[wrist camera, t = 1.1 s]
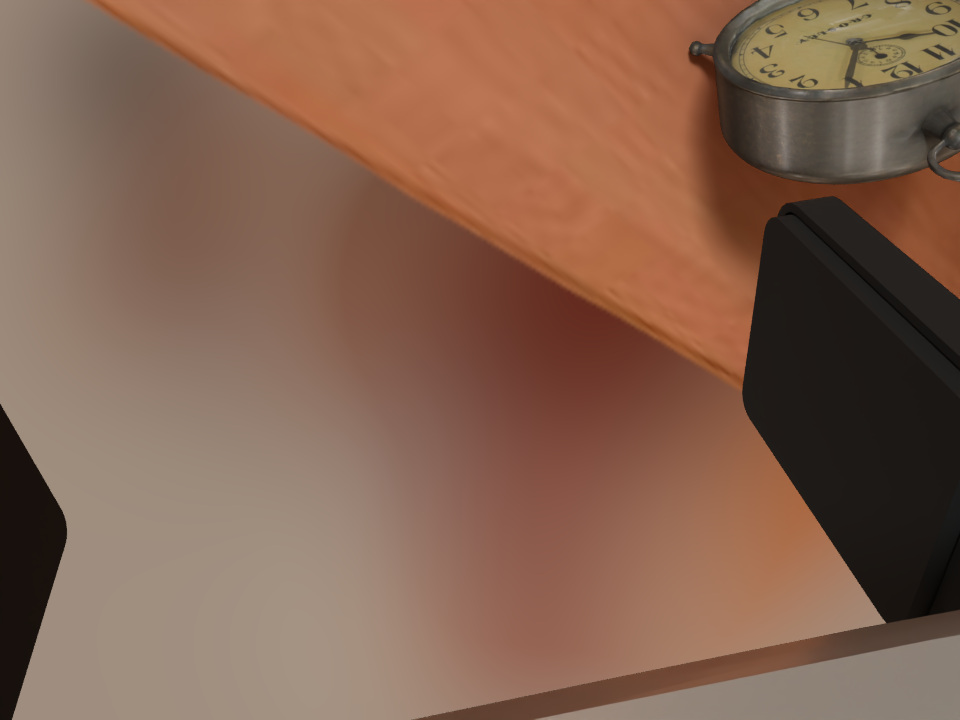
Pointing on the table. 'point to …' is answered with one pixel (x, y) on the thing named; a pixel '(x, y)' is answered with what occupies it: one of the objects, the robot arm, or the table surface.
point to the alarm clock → (840, 87)
